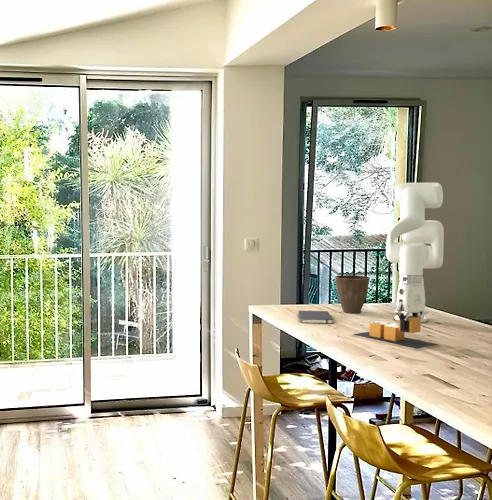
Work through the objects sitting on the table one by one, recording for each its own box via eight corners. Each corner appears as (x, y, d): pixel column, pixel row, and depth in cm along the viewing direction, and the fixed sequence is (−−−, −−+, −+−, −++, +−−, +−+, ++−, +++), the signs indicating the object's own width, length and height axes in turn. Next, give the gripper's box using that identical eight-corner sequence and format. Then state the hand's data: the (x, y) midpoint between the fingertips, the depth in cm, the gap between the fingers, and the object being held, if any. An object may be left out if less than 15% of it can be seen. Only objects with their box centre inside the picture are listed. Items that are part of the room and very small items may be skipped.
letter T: (408, 329, 232) (408, 315, 231) (420, 331, 227) (420, 317, 227) (399, 330, 229) (399, 316, 229) (411, 333, 225) (411, 318, 225)
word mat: (374, 332, 249) (374, 330, 249) (439, 345, 225) (439, 344, 225) (352, 335, 243) (352, 334, 243) (416, 350, 219) (416, 348, 219)
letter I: (392, 337, 238) (393, 323, 237) (404, 339, 233) (404, 325, 233) (383, 338, 235) (383, 324, 235) (395, 341, 231) (395, 326, 231)
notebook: (298, 313, 291) (301, 322, 270) (298, 310, 290) (301, 319, 270) (327, 314, 288) (332, 323, 267) (327, 311, 288) (333, 319, 267)
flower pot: (332, 308, 303) (332, 274, 302) (365, 309, 301) (365, 275, 300) (337, 314, 288) (337, 278, 287) (372, 314, 286) (372, 278, 285)
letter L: (378, 334, 243) (378, 320, 243) (389, 336, 239) (389, 322, 239) (369, 335, 241) (369, 321, 240) (380, 338, 236) (380, 324, 236)
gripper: (403, 282, 220) (402, 335, 221) (435, 279, 228) (434, 330, 229) (385, 280, 226) (384, 331, 227) (417, 277, 235) (416, 326, 236)
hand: (409, 330), depth 228 cm, fingers closed on letter T, 5 cm apart
